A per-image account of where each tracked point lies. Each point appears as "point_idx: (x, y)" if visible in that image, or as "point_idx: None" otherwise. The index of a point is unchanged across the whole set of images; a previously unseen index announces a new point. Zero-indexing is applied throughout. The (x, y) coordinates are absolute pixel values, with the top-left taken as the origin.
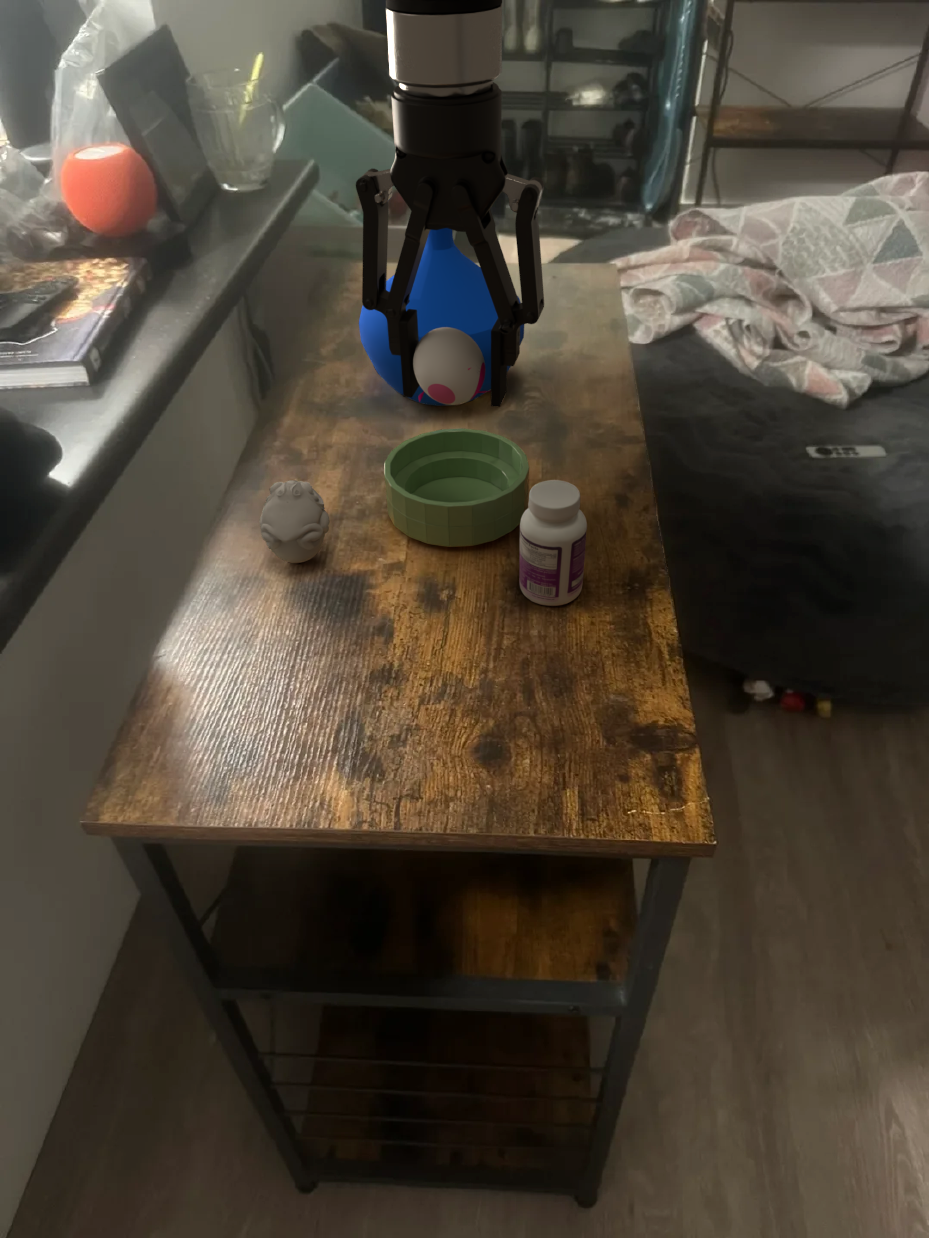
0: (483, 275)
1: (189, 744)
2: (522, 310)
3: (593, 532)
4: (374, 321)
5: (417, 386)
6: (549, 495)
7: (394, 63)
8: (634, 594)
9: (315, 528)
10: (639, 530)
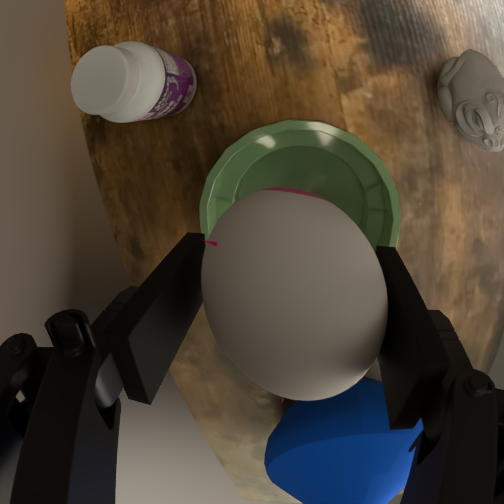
0: (68, 498)
1: None
2: (36, 373)
3: (146, 190)
4: None
5: None
6: (101, 71)
7: None
8: None
9: (449, 71)
10: (110, 203)
